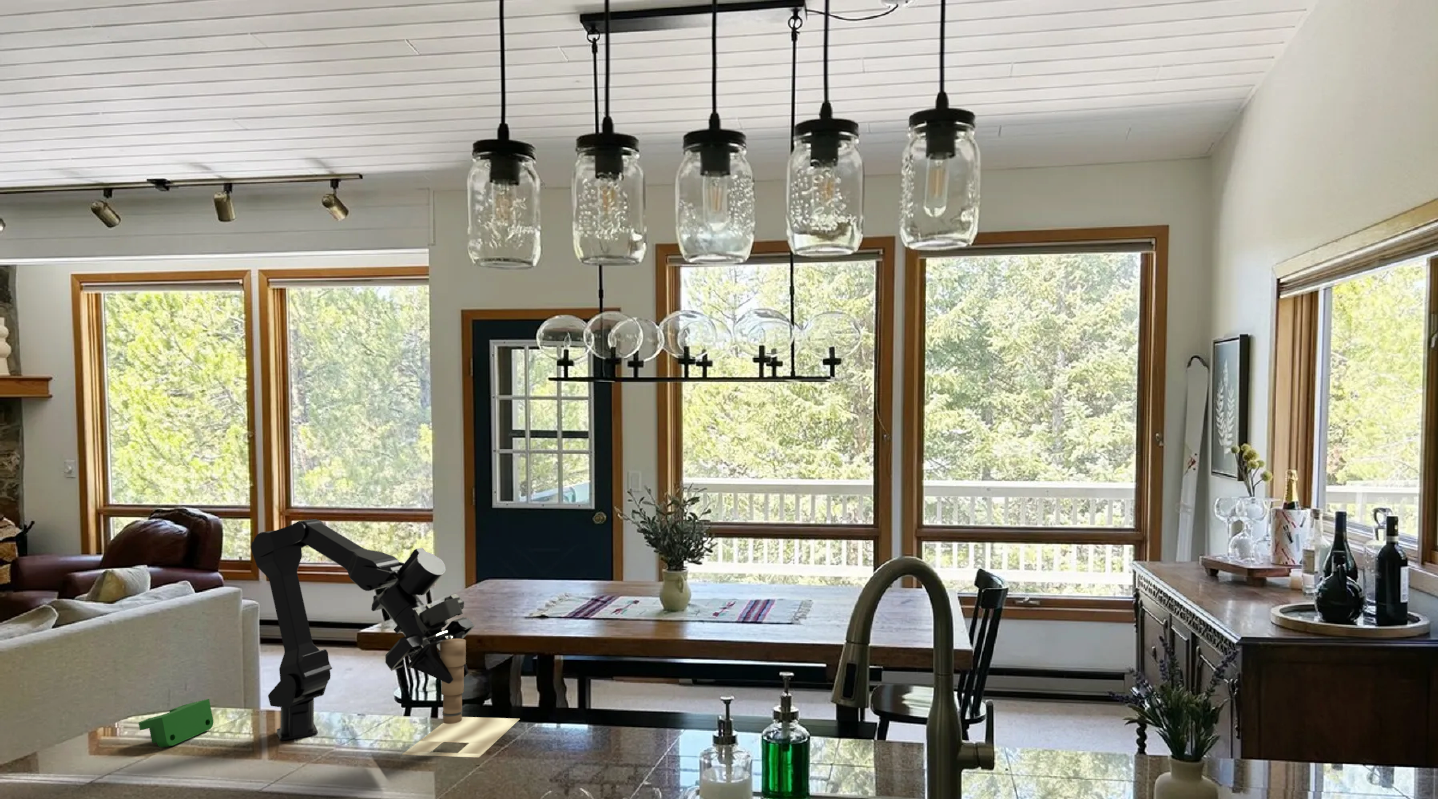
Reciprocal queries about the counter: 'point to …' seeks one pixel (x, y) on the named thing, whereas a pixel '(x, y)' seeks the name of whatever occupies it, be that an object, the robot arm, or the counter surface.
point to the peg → (452, 693)
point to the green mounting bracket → (179, 723)
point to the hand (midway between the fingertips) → (459, 678)
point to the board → (464, 736)
